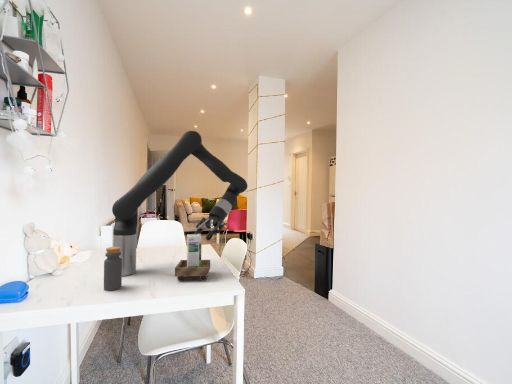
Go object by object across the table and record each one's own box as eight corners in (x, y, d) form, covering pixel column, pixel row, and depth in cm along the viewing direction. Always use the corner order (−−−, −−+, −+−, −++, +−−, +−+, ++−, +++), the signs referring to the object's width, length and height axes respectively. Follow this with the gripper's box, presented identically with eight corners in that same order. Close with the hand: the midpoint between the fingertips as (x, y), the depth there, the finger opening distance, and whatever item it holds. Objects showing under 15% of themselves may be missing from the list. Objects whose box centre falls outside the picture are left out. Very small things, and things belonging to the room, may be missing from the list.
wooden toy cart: (174, 282, 103) (174, 268, 103) (181, 272, 116) (181, 259, 116) (207, 281, 105) (207, 267, 105) (210, 272, 118) (210, 259, 118)
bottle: (117, 284, 101) (118, 245, 101) (124, 287, 97) (124, 247, 97) (101, 288, 96) (101, 248, 96) (107, 292, 92) (108, 250, 92)
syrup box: (187, 270, 107) (187, 235, 107) (186, 266, 113) (187, 233, 113) (201, 269, 109) (201, 235, 109) (200, 265, 114) (200, 233, 114)
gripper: (206, 204, 124) (186, 231, 116) (227, 205, 115) (206, 234, 106) (214, 215, 129) (195, 241, 120) (235, 217, 119) (216, 245, 111)
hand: (200, 238), depth 113 cm, fingers open, 8 cm apart
